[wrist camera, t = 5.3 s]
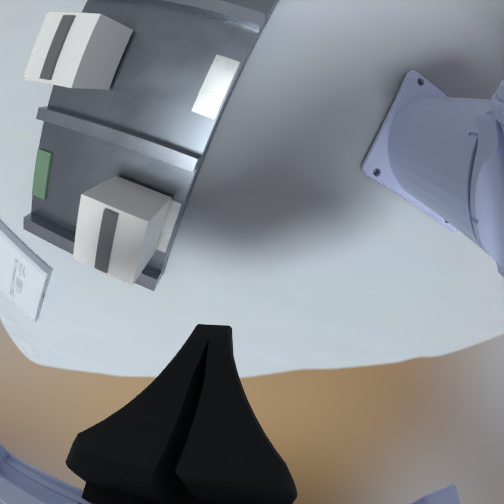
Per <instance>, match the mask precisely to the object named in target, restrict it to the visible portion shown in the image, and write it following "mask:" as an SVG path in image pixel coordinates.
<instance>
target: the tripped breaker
mask: <svg viewBox="0 0 504 504" xmlns="http://www.w3.org/2000/svg"><path fill="white" fill-rule="evenodd" d="M171 199H172V197H169V196H167V195H164V194H162V193H159V192H157V191H154V190H151V189H149V188H146V187H144V186H141V185H139V184H136V183H134V182H131V181H128V180H126V179H123V178H121V177H118V176H114V177H112V178H110V179H108V180H106V181H104V182H102V183H100V184H98V185H97V186H95V187H93V188H91V189H89V190H87V191H86V192H84V193H82V194H81V199H80V205H79V211H78V218H77V226H76V234H75V243H74V253H73V258H74V259H76V260H78V261H80V262H82V263H84V264H87V265H89V266H91V267H93V268H95V269H97V270H99V271H101V272H104V273H106V274H108V275H110V276H112V277H114V278H117V279H119V280H121V281H123V282H126V283H128V284H130V285H132V286H133V284H134V283H135V281H136V280H137V278H138V277H139V275H140V274H141V272H142V271H143V269H144V268H145V266H146V265H147V263H148V262H149V260H150V259H151V257H152V256H153V254H154V253H155V251H156V247H157V244H158V240H159V237H160V234H161V230H162V227H163V224H164V221H165V218H166V214H167V211H168V208H169V205H170V202H171Z"/></svg>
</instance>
